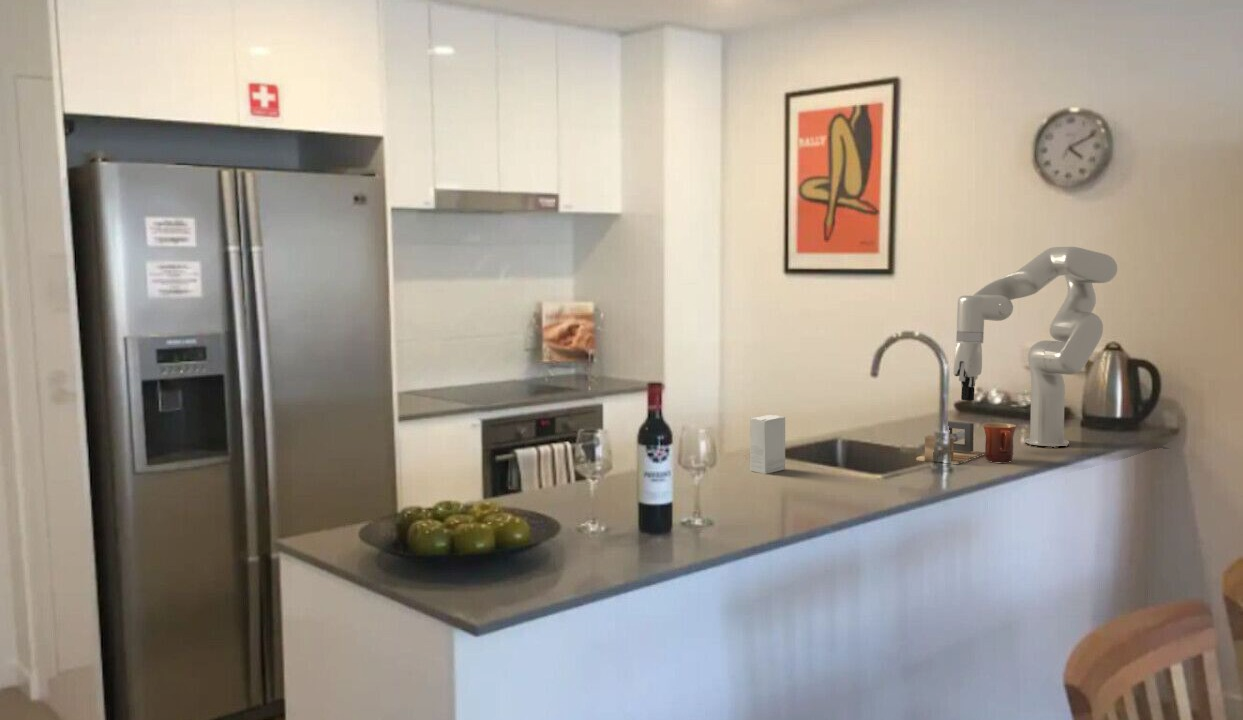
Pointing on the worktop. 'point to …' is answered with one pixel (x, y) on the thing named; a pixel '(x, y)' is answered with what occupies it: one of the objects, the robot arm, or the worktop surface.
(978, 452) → the board block
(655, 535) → the worktop surface
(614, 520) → the worktop surface
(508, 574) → the worktop surface
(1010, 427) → the mug
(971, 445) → the gray square frame
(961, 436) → the pipe
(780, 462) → the skincare box
